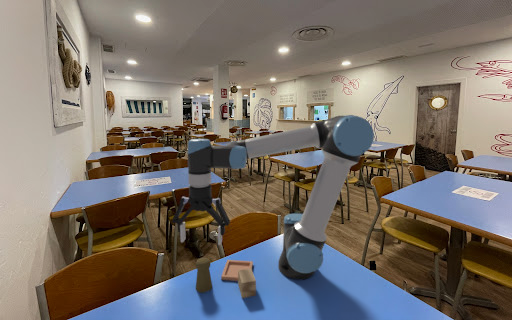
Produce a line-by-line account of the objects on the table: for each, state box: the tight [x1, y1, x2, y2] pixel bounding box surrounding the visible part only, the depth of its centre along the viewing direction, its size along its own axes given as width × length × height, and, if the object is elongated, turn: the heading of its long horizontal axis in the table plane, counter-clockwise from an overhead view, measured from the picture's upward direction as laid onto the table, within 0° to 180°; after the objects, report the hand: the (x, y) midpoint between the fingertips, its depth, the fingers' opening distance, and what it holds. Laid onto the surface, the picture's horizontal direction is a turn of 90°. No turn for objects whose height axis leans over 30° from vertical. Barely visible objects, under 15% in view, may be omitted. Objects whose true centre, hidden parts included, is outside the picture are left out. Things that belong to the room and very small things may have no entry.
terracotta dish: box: [220, 259, 254, 282], centre depth 98 cm, size 11×11×1 cm
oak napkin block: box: [237, 268, 257, 299], centre depth 87 cm, size 5×7×6 cm
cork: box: [195, 257, 213, 294], centre depth 88 cm, size 6×6×11 cm
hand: (201, 241), depth 86 cm, fingers open, 13 cm apart
